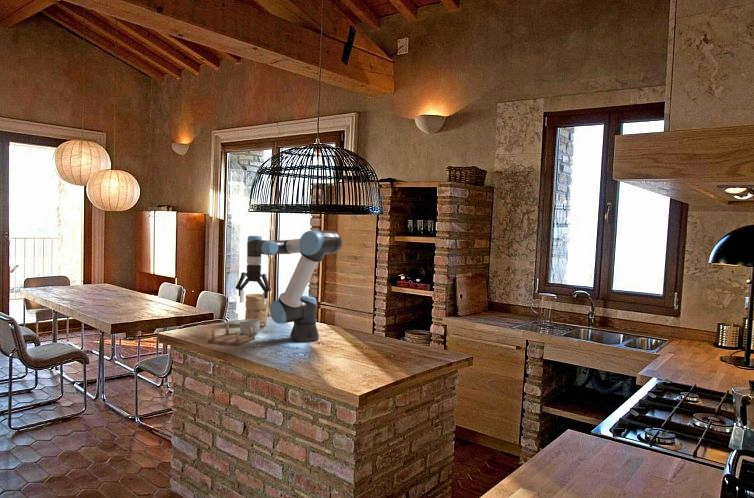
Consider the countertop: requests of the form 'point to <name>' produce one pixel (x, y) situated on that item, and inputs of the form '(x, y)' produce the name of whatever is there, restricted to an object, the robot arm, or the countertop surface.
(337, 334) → the countertop surface
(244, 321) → the teacup
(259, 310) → the container
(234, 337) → the rack
